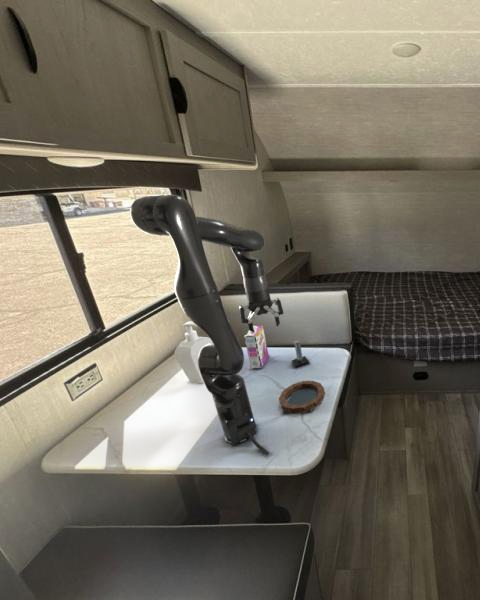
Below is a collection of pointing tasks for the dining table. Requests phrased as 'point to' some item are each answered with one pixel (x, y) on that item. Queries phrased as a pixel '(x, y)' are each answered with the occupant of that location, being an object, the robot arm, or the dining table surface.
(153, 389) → the dining table surface
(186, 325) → the soap bottle
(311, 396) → the mat
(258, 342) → the candy bar box
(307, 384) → the ring
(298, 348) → the stand
